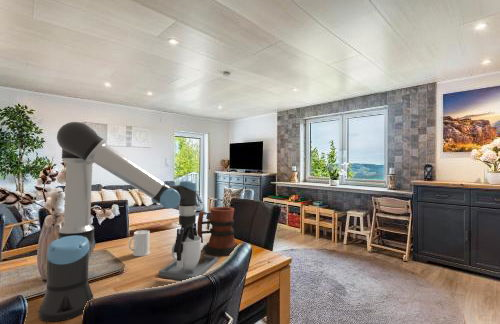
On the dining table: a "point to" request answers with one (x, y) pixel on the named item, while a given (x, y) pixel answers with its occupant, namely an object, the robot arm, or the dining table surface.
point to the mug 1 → (141, 243)
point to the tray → (186, 274)
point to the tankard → (218, 231)
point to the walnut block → (202, 256)
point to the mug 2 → (190, 252)
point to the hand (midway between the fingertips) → (186, 262)
